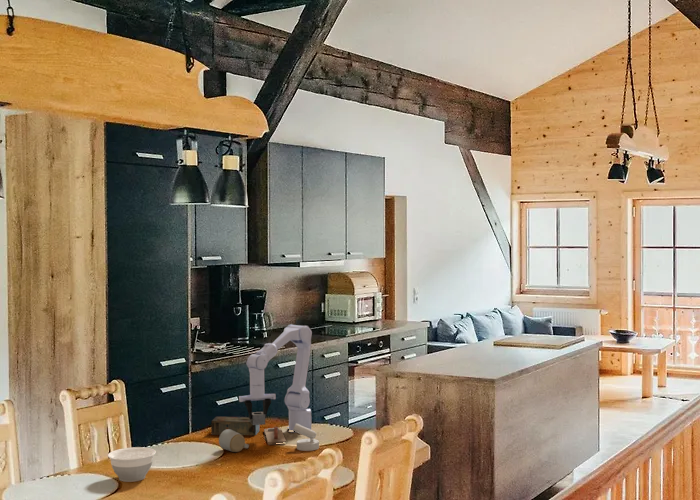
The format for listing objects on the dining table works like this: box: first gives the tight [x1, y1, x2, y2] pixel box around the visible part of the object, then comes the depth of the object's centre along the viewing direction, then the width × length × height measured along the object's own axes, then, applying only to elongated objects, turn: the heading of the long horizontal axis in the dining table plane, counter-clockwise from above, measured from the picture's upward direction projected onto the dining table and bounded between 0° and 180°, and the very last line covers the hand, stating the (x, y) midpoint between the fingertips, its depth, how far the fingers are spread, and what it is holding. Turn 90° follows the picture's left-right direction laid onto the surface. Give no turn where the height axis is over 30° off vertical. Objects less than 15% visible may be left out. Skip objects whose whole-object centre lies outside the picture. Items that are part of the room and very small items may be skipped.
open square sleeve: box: [250, 411, 266, 426], centre depth 336 cm, size 5×5×4 cm
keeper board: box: [263, 426, 287, 446], centre depth 340 cm, size 7×22×6 cm, turn 10°
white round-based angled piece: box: [293, 423, 320, 452], centre depth 324 cm, size 9×10×10 cm
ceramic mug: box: [218, 429, 250, 453], centre depth 322 cm, size 11×8×8 cm
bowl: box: [107, 446, 157, 483], centre depth 286 cm, size 16×16×9 cm
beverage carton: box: [210, 416, 261, 436], centre depth 349 cm, size 8×19×7 cm, turn 85°
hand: (257, 418), depth 336 cm, fingers closed on open square sleeve, 5 cm apart
